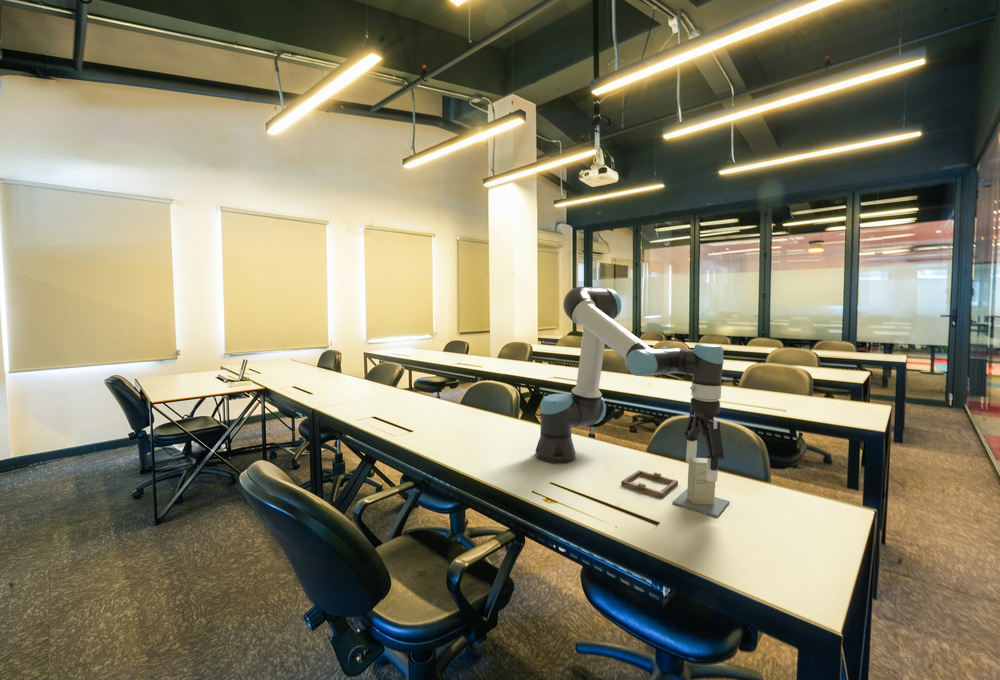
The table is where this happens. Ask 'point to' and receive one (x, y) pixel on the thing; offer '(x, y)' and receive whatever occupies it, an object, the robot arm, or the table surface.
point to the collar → (643, 487)
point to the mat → (702, 505)
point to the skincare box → (699, 483)
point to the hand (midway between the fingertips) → (700, 470)
